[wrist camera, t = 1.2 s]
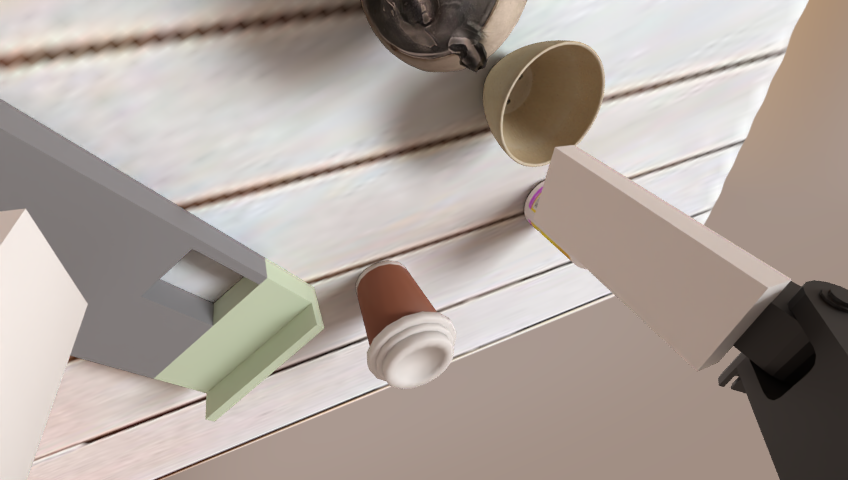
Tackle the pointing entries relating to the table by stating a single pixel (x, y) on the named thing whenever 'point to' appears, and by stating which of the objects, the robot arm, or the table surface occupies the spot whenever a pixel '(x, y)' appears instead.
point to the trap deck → (151, 272)
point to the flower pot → (543, 99)
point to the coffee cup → (402, 327)
